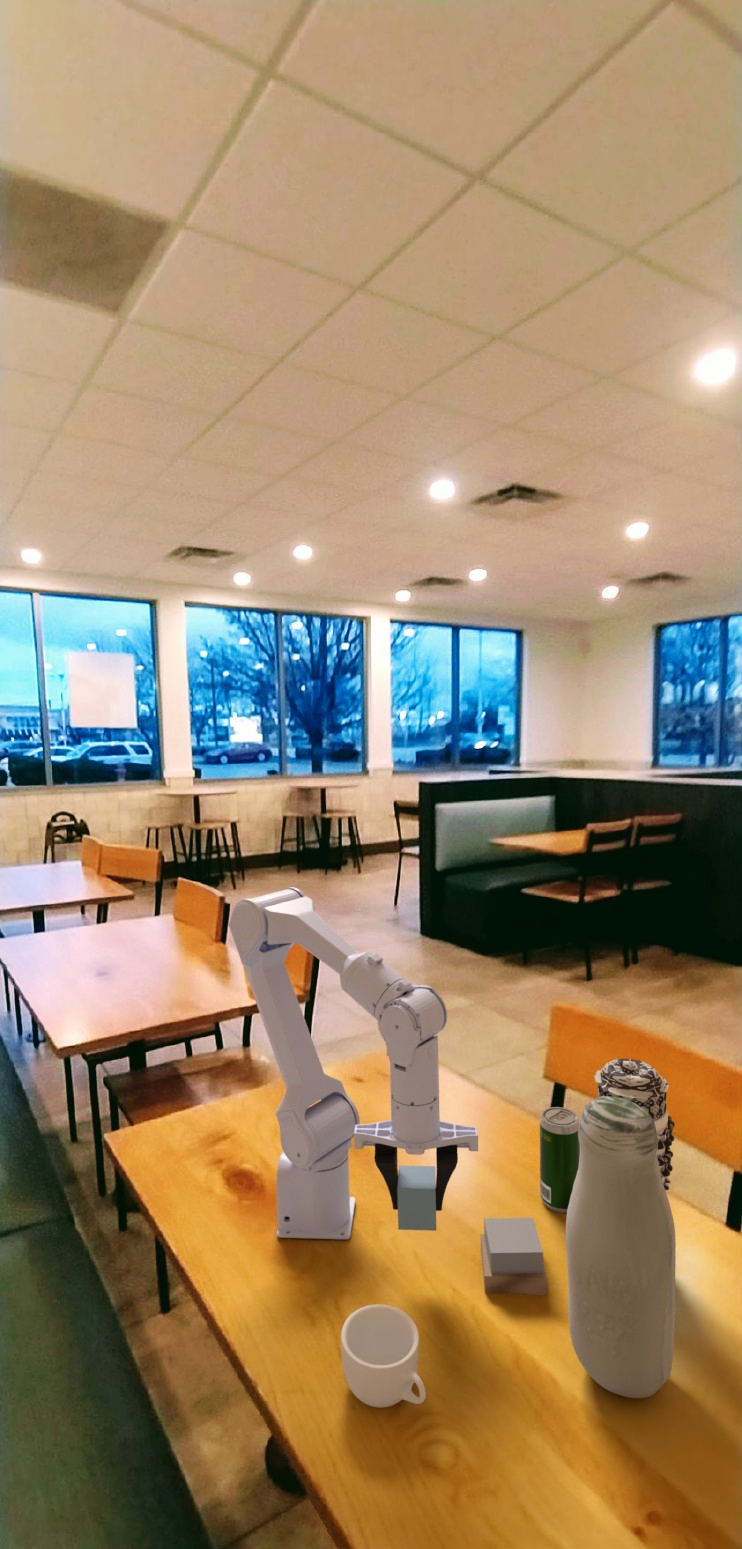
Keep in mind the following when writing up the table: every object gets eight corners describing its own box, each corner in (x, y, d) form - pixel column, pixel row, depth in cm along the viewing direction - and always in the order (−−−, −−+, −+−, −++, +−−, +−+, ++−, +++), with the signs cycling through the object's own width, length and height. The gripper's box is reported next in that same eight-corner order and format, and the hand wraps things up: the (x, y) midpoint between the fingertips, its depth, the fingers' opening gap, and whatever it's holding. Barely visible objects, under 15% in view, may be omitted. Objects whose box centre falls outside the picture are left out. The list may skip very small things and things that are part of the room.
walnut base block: (484, 1296, 84) (484, 1276, 84) (480, 1253, 91) (480, 1234, 91) (546, 1299, 84) (546, 1278, 84) (537, 1255, 91) (537, 1236, 91)
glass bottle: (682, 1360, 75) (682, 1093, 73) (662, 1443, 66) (662, 1144, 64) (585, 1319, 80) (583, 1071, 78) (554, 1392, 71) (552, 1114, 70)
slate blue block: (398, 1229, 85) (397, 1188, 85) (399, 1204, 89) (398, 1165, 89) (436, 1230, 85) (435, 1189, 84) (436, 1205, 89) (435, 1166, 89)
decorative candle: (676, 1312, 81) (676, 1092, 79) (588, 1292, 84) (587, 1080, 82) (672, 1256, 89) (673, 1056, 88) (593, 1239, 92) (592, 1046, 91)
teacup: (326, 1383, 73) (324, 1332, 73) (383, 1339, 78) (381, 1291, 78) (394, 1456, 66) (393, 1400, 65) (452, 1403, 71) (451, 1350, 70)
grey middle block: (491, 1273, 84) (490, 1252, 84) (484, 1237, 90) (484, 1218, 90) (543, 1273, 84) (543, 1252, 84) (533, 1237, 90) (532, 1217, 90)
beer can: (561, 1219, 96) (561, 1131, 96) (531, 1198, 101) (531, 1114, 100) (589, 1204, 99) (588, 1118, 98) (559, 1184, 104) (558, 1102, 103)
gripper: (349, 1110, 83) (353, 1225, 84) (479, 1112, 82) (481, 1229, 82) (356, 1080, 90) (359, 1187, 91) (475, 1082, 89) (477, 1190, 89)
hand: (417, 1204), depth 87 cm, fingers closed on slate blue block, 4 cm apart
